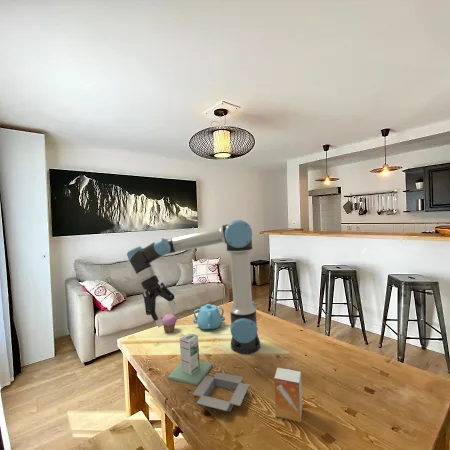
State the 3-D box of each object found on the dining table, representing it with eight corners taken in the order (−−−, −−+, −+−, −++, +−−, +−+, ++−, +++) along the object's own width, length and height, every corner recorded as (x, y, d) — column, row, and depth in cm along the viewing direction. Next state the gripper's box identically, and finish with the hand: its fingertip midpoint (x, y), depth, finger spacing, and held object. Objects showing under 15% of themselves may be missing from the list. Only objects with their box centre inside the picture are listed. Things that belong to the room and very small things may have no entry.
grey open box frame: (209, 377, 104) (209, 370, 104) (251, 386, 97) (251, 378, 97) (188, 409, 87) (187, 400, 87) (237, 422, 80) (236, 413, 80)
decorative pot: (190, 327, 155) (189, 305, 154) (210, 318, 166) (209, 298, 166) (207, 334, 143) (206, 311, 143) (227, 325, 154) (226, 303, 154)
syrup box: (190, 375, 104) (189, 341, 104) (180, 371, 108) (179, 337, 107) (200, 368, 109) (198, 335, 108) (190, 364, 112) (188, 332, 112)
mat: (185, 360, 117) (185, 358, 117) (212, 365, 112) (212, 363, 112) (167, 378, 104) (167, 376, 104) (197, 385, 99) (197, 383, 99)
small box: (275, 417, 82) (273, 377, 82) (278, 403, 88) (277, 366, 88) (301, 423, 79) (299, 382, 79) (302, 408, 85) (301, 371, 85)
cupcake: (170, 326, 156) (169, 310, 156) (180, 329, 151) (179, 313, 151) (159, 332, 149) (158, 315, 149) (168, 335, 144) (168, 318, 144)
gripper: (157, 274, 130) (176, 311, 128) (124, 290, 106) (146, 335, 105) (168, 268, 128) (187, 305, 126) (136, 283, 104) (160, 329, 102)
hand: (169, 319), depth 115 cm, fingers open, 13 cm apart
